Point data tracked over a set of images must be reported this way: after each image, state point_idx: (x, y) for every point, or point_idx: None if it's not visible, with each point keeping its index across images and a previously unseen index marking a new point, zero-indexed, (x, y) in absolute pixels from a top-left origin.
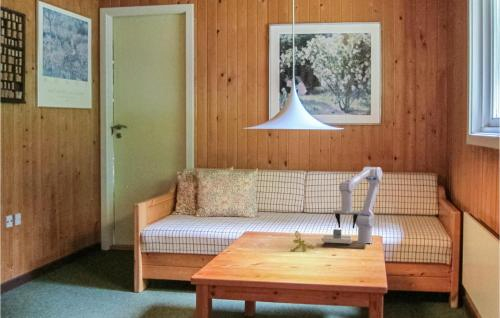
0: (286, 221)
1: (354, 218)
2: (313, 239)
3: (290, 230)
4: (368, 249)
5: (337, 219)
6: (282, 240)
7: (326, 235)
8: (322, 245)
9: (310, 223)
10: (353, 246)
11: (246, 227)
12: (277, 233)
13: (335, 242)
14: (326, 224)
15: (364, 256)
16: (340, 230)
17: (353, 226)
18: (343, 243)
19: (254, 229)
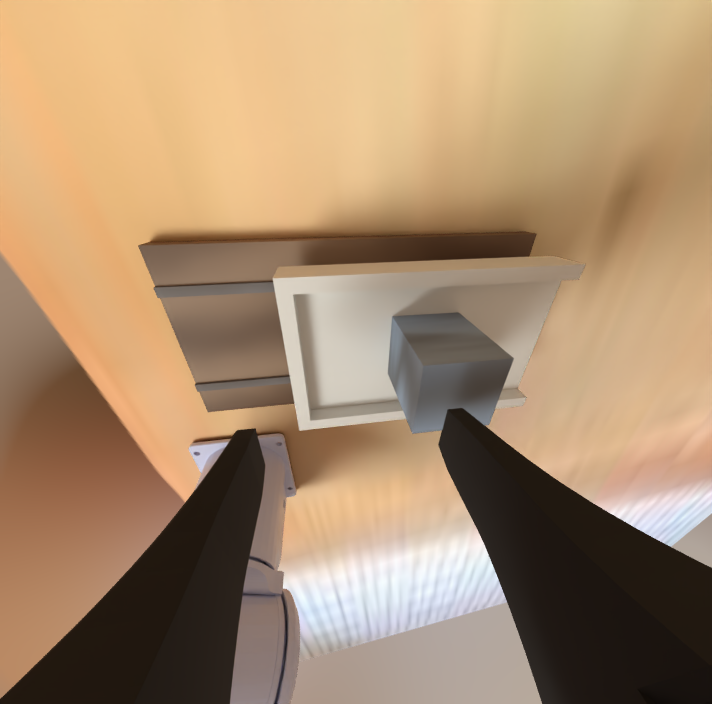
0: None
1: (80, 691)
2: (521, 440)
3: None
4: (112, 250)
5: (604, 522)
6: (697, 367)
7: (505, 398)
8: (529, 233)
9: (478, 606)
10: (259, 262)
11: (696, 519)
12: (638, 485)
13: (433, 261)
14: (434, 613)
15: None
16: (423, 384)
17: (233, 450)
18: None
19: (687, 506)
